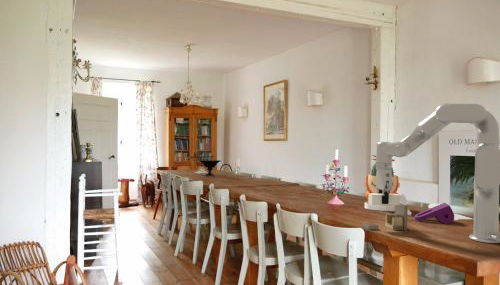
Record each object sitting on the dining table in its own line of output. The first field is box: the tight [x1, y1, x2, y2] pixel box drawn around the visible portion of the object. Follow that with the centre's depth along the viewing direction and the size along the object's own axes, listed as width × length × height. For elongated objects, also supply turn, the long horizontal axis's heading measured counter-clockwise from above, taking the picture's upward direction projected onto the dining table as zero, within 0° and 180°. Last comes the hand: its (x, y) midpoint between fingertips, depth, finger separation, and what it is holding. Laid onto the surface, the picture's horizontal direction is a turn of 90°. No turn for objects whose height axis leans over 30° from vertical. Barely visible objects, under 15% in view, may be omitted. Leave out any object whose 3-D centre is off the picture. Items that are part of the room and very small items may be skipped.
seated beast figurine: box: [399, 193, 413, 216], centre depth 236 cm, size 10×9×12 cm
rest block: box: [361, 221, 379, 231], centre depth 194 cm, size 8×5×2 cm, turn 4°
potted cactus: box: [363, 154, 401, 212], centre depth 257 cm, size 22×22×35 cm
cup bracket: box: [384, 203, 409, 231], centre depth 194 cm, size 11×7×12 cm, turn 4°
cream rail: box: [367, 193, 401, 205], centre depth 194 cm, size 14×5×5 cm, turn 94°
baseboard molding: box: [424, 207, 473, 222], centre depth 233 cm, size 31×3×12 cm
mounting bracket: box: [413, 202, 455, 224], centre depth 215 cm, size 10×9×19 cm
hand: (382, 202), depth 194 cm, fingers closed on cream rail, 5 cm apart
